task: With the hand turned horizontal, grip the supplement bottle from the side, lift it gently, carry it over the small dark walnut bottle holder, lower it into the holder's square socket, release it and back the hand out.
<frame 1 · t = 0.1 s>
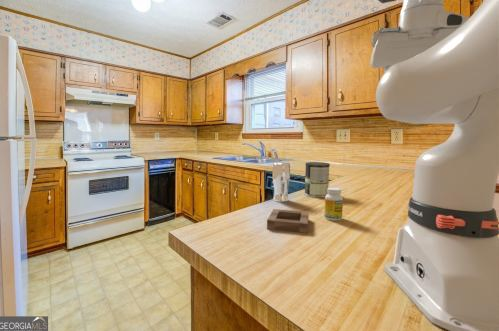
hand: (412, 84, 63), 39 cm above the counter, tool pointing down, fingers open, 8 cm apart
beer glass: (280, 200, 101), on the counter
bottle holder: (288, 223, 73), on the counter
coffee can: (316, 195, 111), on the counter
supplement bottle: (332, 219, 79), on the counter
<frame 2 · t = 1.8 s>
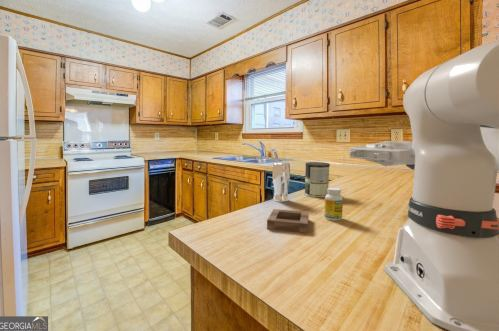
hand: (363, 154, 82), 20 cm above the counter, tool horizontal, fingers open, 8 cm apart
nothing on the counter moved.
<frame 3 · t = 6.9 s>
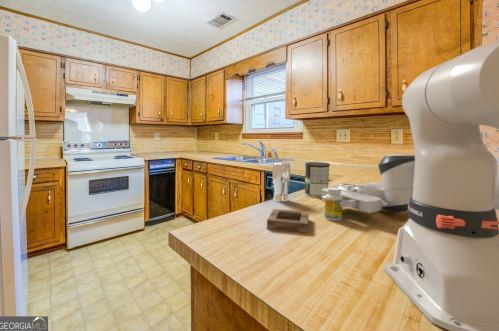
hand: (331, 201, 78), 6 cm above the counter, tool horizontal, fingers closed on supplement bottle, 5 cm apart
supplement bottle: (332, 218, 79), on the counter, touching gripper
everything else where it was.
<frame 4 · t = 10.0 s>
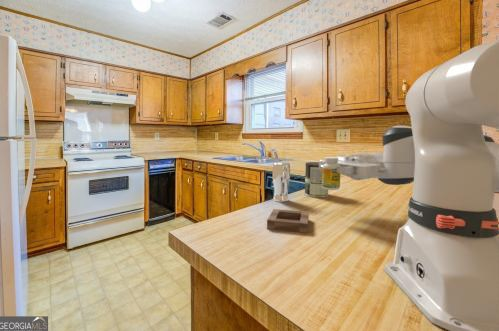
hand: (329, 169, 76), 16 cm above the counter, tool horizontal, fingers closed on supplement bottle, 5 cm apart
supplement bottle: (330, 188, 77), point 10 cm above the counter, touching gripper
everything else where it was.
when the fingers open (7 cm above the counter, at t = 13.4 s): supplement bottle stays where it is, resting in bottle holder.
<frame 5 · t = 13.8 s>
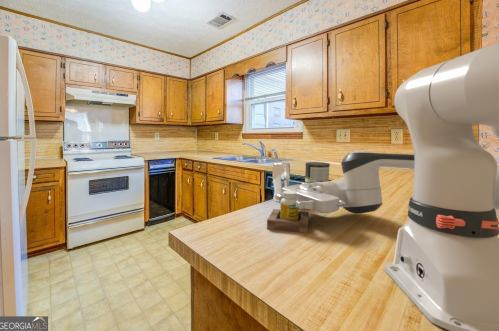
hand: (286, 201, 72), 7 cm above the counter, tool horizontal, fingers open, 8 cm apart
supplement bottle: (289, 224, 73), resting in bottle holder
everything else where it was.
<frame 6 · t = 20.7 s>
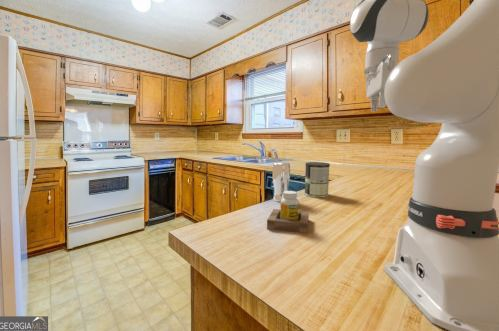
hand: (378, 109, 76), 34 cm above the counter, tool pointing down, fingers open, 8 cm apart
nothing on the counter moved.
at the end: supplement bottle 0.1 cm off-centre on the bottle holder, point 0.0 cm above the bottle holder's base; supplement bottle tilted 0°; the gripper is holding nothing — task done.
